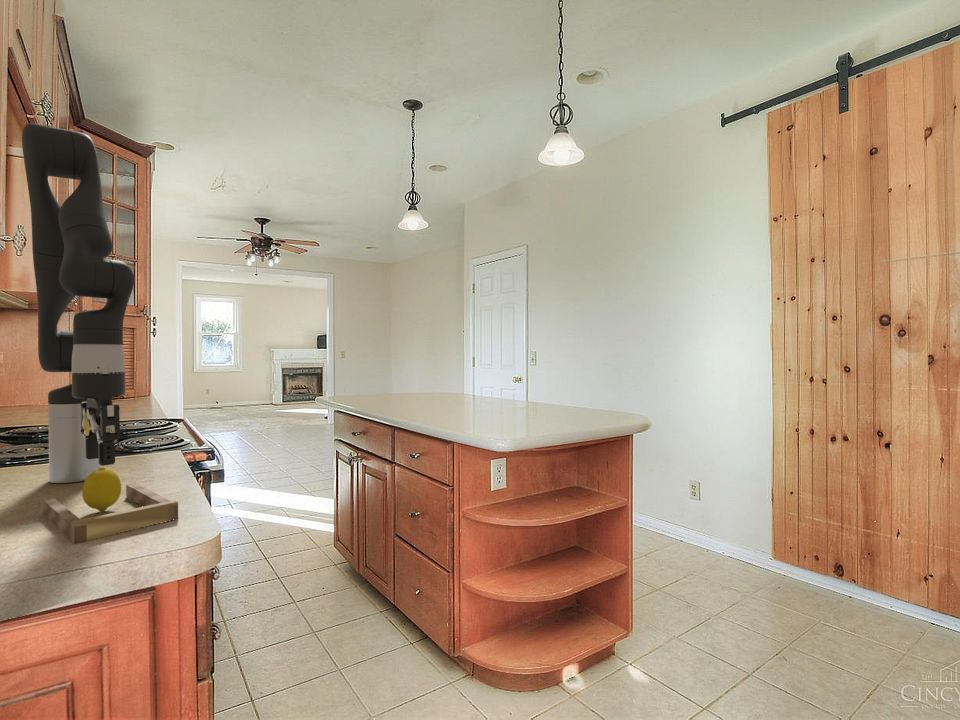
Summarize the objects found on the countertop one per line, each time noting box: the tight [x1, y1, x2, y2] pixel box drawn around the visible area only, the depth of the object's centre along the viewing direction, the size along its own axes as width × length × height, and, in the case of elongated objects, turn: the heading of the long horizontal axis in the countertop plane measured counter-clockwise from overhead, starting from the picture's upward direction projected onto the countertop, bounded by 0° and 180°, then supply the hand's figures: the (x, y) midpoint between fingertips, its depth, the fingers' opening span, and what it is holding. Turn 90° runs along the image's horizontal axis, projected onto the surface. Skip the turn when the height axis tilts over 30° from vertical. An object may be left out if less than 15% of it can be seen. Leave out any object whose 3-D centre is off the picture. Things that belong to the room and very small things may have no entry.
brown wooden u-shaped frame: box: [41, 483, 179, 544], centre depth 86 cm, size 22×14×3 cm, turn 51°
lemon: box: [81, 466, 122, 513], centre depth 89 cm, size 6×6×8 cm
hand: (100, 461), depth 88 cm, fingers open, 8 cm apart
